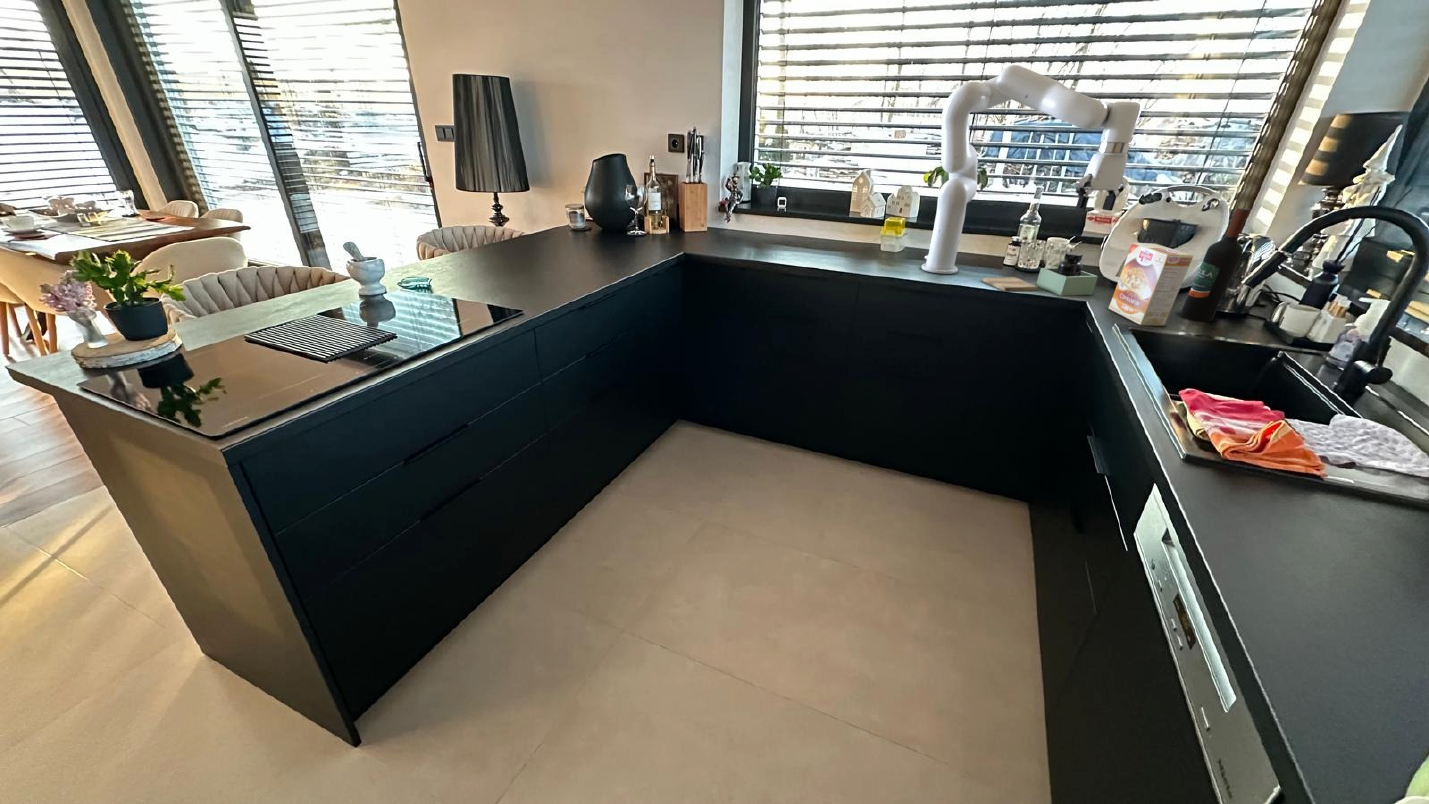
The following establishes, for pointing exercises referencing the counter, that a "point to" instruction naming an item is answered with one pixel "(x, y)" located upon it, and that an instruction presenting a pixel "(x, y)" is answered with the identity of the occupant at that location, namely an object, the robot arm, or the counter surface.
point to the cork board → (1010, 284)
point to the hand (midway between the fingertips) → (1093, 210)
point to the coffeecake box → (1149, 283)
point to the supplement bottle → (1071, 264)
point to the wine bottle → (1215, 273)
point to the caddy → (1066, 282)
